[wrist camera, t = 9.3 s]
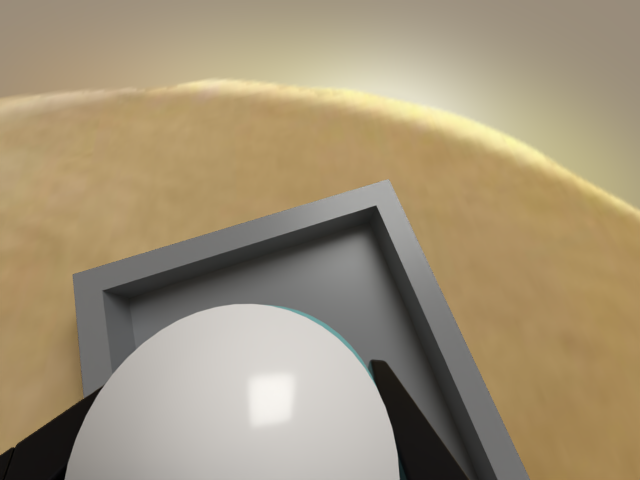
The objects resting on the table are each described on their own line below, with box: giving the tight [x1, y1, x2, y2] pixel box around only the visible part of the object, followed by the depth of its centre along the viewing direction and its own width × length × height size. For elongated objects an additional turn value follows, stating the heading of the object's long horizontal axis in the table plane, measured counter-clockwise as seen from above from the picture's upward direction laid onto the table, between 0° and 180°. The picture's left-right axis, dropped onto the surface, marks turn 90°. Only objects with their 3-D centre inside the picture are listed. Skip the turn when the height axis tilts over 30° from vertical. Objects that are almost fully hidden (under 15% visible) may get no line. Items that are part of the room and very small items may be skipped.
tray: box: [73, 179, 530, 480], centre depth 15 cm, size 16×16×3 cm
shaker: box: [65, 304, 400, 480], centre depth 9 cm, size 5×5×10 cm
